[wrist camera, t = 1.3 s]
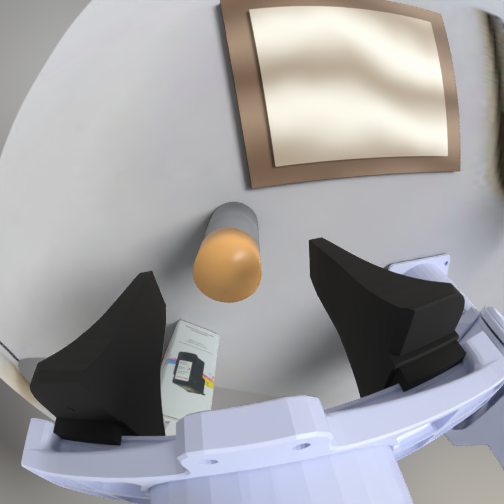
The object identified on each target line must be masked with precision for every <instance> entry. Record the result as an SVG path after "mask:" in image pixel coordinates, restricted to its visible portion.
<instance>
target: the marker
mask: <svg viewBox="0 0 504 504" xmlns="http://www.w3.org/2000/svg"><path fill="white" fill-rule="evenodd" d="M193 277H194V281H195V283H196V285H197V287H198V288H199V289H200V291H201V292H202V293H204V294H205V295H206V296H208V297H209V298H211V299H213V300H216V301H220V302H228V303H230V302H237V301H241V300H243V299H246V298H247V297H249V296H250V295H252V294H253V293H254V292H255V290H256V289H257V288H258V286H259V284H260V280H261V262H260V248H259V234H258V221H257V217H256V215H255V213H254V212H253V211H252V210H251V208H249V207H248V206H246V205H245V204H242V203H238V202H229V203H225V204H223V205H221V206H219V207H218V208H217V209H216V210H215V211H214V212H213V214H212V216H211V219H210V222H209V224H208V227H207V230H206V232H205V235H204V238H203V240H202V243H201V246H200V249H199V251H198V254H197V257H196V260H195V263H194V266H193Z"/></svg>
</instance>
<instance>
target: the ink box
mask: <svg viewBox="0 0 504 504" xmlns="http://www.w3.org/2000/svg"><path fill="white" fill-rule="evenodd" d="M219 338H220V336H219V335H218V334H215V333H213V332H210V331H208V330H206V329H203V328H200V327H198V326H195V325H193V324H190V323H188V322H185V321H182V320H179V321H178V322H177V325H176V328H175V330H174V333H173V335H172V338H171V340H170V343H169V345H168V348H167V350H166V353H165V355H164V358H163V360H162V363H161V369H160V378H161V400H162V412H163V420H164V428H165V434H166V436H173V435H176V422H178V421H179V420H180V419H181V418H183V417H184V416H185V415H187V414H191V413H195V412H199V411H205V410H211V407H212V397H213V387H214V380H215V371H216V363H217V354H218V347H219Z"/></svg>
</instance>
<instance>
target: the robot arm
mask: <svg viewBox="0 0 504 504" xmlns="http://www.w3.org/2000/svg"><path fill="white" fill-rule="evenodd" d="M309 257H310V278H311V280H312V283H313V286H314V288H315V291H316V293H317V295H318V297H319V299H320V301H321V302H322V304H323V306H324V308H325V310H326V311H327V313H328V315H329V317H330V318H331V320H332V322H333V324H334V326H335V327H336V329H337V331H338V334H339V336H340V338H341V341H342V343H343V346H344V348H345V351H346V353H347V356H348V359H349V362H350V365H351V367H352V370H353V373H354V377H355V380H356V383H357V386H358V390H359V393H360V397H361V398H360V399H357V400H354V401H351V402H348V403H345V404H342V405H339V406H336V407H333V408H329V409H326V410H324V409H323V406H322V404H321V402H320V400H319V399H318V398H316V397H312V396H307V395H295V396H286V397H281V398H277V399H272V400H267V401H263V402H257V403H252V404H246V405H240V406H235V407H228V408H221V409H213V410H205V411H199V412H195V413H191V414H187V415H185V416H184V417H183V418H181V419H180V420H179V421H178V422H176V435H173V436H166V434H165V428H164V420H163V412H162V400H161V378H160V369H161V357H162V349H163V341H164V333H165V326H166V304H165V302H164V299H163V297H162V295H161V292H160V290H159V287H158V285H157V282H156V280H155V277H154V275H153V272H152V271H148V272H143V273H140V274H139V275H138V276H137V277H136V278H135V279H134V280H133V281H132V282H131V284H130V285H129V286H128V287H127V288H126V290H125V291H124V292H123V293H122V294H121V296H120V297H119V298H118V299H117V300H116V302H115V303H114V304H113V305H112V306H111V307H110V308H109V309H108V310H107V312H106V313H105V314H104V315H103V316H102V317H101V318H100V319H99V320H98V321H97V322H96V323H95V324H94V325H93V326H92V327H90V328H89V329H88V330H87V331H86V332H85V333H83V334H82V335H81V336H80V337H78V338H77V339H76V340H75V341H73V342H72V343H71V344H69V345H68V346H66V347H65V348H63V349H62V350H60V351H59V352H57V353H55V354H54V355H52V356H50V357H48V358H47V359H45V360H43V361H41V362H39V363H38V364H37V367H36V370H35V372H34V375H33V378H32V381H31V384H30V390H31V392H32V394H33V396H34V397H35V398H36V399H37V400H38V401H39V402H40V403H41V404H42V405H43V406H44V407H45V408H46V409H47V410H49V411H50V412H51V413H52V414H53V415H54V416H56V417H57V418H56V422H55V423H53V422H51V421H48V420H43V419H36V418H31V422H30V425H29V429H28V433H27V438H26V442H25V447H24V451H23V457H22V462H21V465H22V466H23V467H24V468H26V469H28V470H30V471H31V472H33V473H35V474H37V475H39V476H40V477H42V478H44V479H46V480H48V481H50V482H52V483H54V484H56V485H58V486H61V487H65V488H68V489H72V490H75V491H79V492H83V493H87V494H91V495H95V496H99V497H104V498H109V499H114V500H119V501H125V502H130V503H137V504H413V501H412V499H411V496H410V493H409V491H408V488H407V486H406V483H405V481H404V478H403V476H402V473H401V471H400V469H399V466H398V464H397V460H399V459H401V458H403V457H405V456H407V455H409V454H410V453H412V452H414V451H416V450H418V449H420V448H421V447H423V446H425V445H426V444H428V443H430V442H431V441H433V440H434V439H436V438H438V437H439V436H441V435H442V434H443V435H444V436H445V437H446V438H447V439H448V440H449V441H450V442H451V443H452V445H453V446H471V445H488V447H489V448H490V450H491V451H492V453H493V454H494V456H495V457H496V459H497V460H498V462H499V463H500V465H501V466H502V468H503V470H504V385H503V383H504V317H503V316H502V315H501V314H500V313H499V312H498V311H497V310H496V309H495V308H494V307H488V308H487V307H484V308H483V309H482V311H481V312H479V311H478V309H477V308H476V307H475V306H474V305H473V304H472V303H471V301H470V300H469V299H468V298H467V297H466V296H465V295H464V294H463V293H462V292H461V290H460V289H459V288H458V287H457V286H456V285H455V284H454V283H453V282H452V281H451V280H450V279H449V278H448V277H447V272H448V267H449V262H450V255H448V254H442V255H437V256H432V257H427V258H422V259H416V260H411V261H406V262H400V263H395V264H391V265H390V266H389V267H388V270H386V269H384V268H381V267H378V266H376V265H374V264H371V263H369V262H367V261H365V260H363V259H361V258H359V257H357V256H355V255H353V254H351V253H349V252H347V251H345V250H344V249H342V248H340V247H338V246H337V245H335V244H333V243H331V242H329V241H328V240H326V239H324V238H316V239H311V240H309ZM445 262H446V263H445ZM502 385H503V386H502ZM501 386H502V387H501ZM500 387H501V388H500ZM499 388H500V389H499ZM498 389H499V390H498Z"/></svg>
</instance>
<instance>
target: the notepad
mask: <svg viewBox="0 0 504 504" xmlns="http://www.w3.org/2000/svg"><path fill="white" fill-rule="evenodd" d="M220 3H221V9H222V14H223V20H224V25H225V31H226V36H227V42H228V48H229V53H230V59H231V65H232V71H233V76H234V82H235V88H236V94H237V100H238V106H239V112H240V117H241V123H242V129H243V135H244V142H245V148H246V154H247V160H248V166H249V172H250V178H251V185H252V188H259V187H266V186H273V185H281V184H289V183H297V182H305V181H314V180H323V179H332V178H343V177H354V176H366V175H379V174H394V173H413V172H441V171H460V122H459V108H458V98H457V89H456V81H455V75H454V68H453V63H452V57H451V52H450V47H449V43H448V38H447V34H446V30H445V26H444V23H443V19H442V16H441V14H439V13H436V12H432V11H429V10H425V9H422V8H418V7H414V6H410V5H406V4H401V3H396V2H391V1H386V0H220Z"/></svg>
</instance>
